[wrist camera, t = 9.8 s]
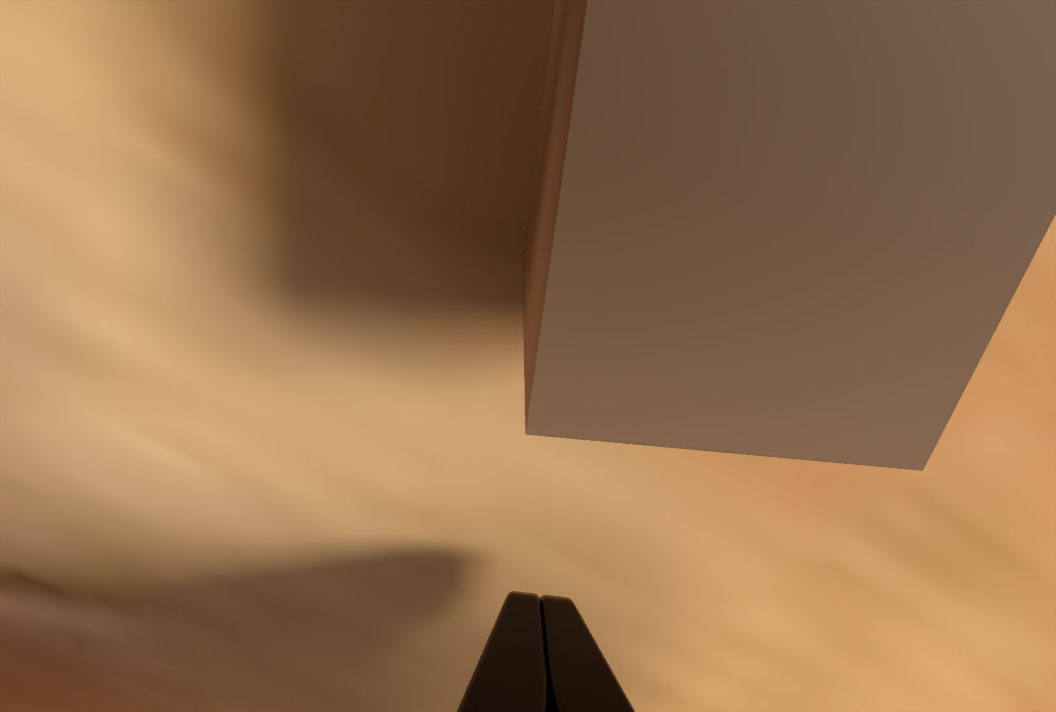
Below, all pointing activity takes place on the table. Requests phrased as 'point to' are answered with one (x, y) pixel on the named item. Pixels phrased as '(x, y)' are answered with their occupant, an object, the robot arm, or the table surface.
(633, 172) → the brown wooden bar
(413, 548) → the table surface
